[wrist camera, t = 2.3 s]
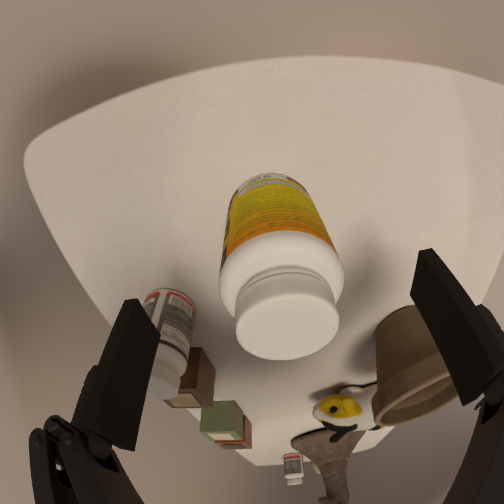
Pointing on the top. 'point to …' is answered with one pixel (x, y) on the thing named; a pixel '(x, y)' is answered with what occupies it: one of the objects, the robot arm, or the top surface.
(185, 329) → the pill bottle
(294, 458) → the pill bottle
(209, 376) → the block near
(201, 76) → the top surface
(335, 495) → the sculpture
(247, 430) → the block end
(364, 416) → the figurine
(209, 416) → the block far
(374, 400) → the flower pot
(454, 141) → the top surface
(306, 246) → the supplement bottle
